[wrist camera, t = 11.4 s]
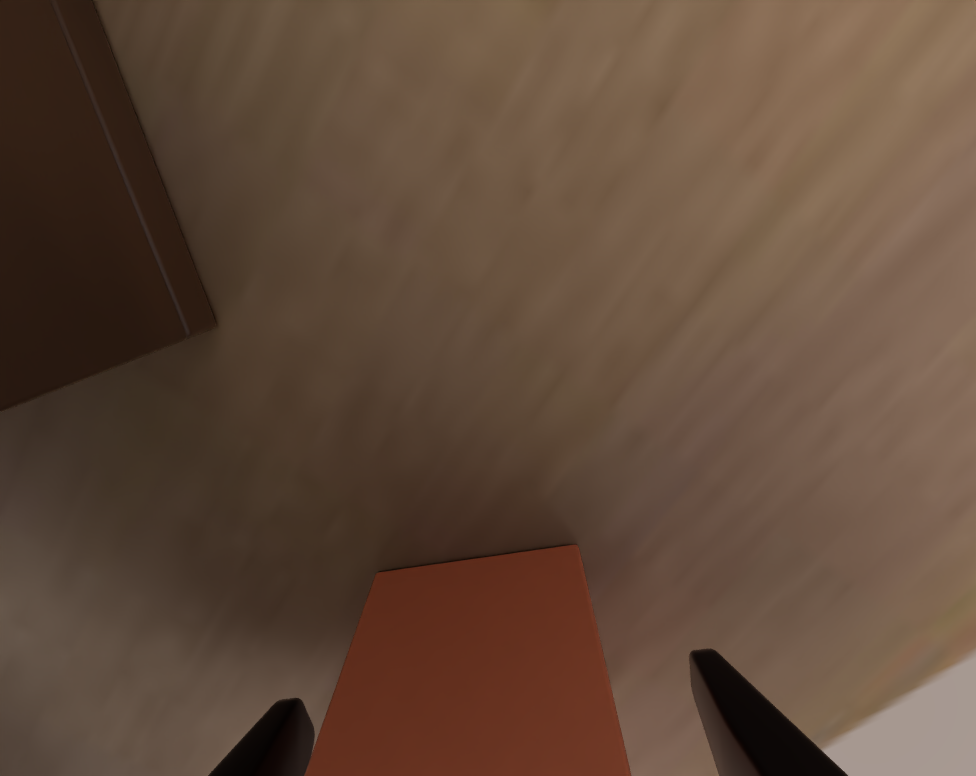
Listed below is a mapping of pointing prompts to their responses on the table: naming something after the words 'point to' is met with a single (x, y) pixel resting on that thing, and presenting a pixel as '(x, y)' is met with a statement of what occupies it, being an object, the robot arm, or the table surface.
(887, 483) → the table surface
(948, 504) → the table surface
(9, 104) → the cabinet
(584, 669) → the block
